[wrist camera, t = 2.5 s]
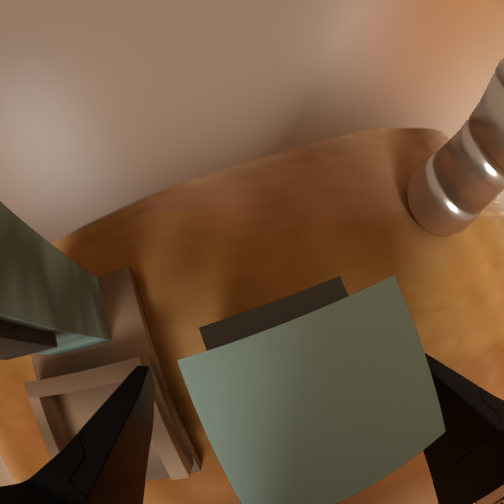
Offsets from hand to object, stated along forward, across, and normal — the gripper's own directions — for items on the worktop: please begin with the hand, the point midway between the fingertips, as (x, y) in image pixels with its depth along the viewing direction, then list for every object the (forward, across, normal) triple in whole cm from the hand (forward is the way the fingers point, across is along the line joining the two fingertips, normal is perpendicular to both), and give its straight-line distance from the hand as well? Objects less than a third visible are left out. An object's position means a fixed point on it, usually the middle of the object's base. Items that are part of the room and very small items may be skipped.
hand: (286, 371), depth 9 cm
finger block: (+5, 0, +6) cm, 8 cm away
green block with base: (+4, +10, +7) cm, 13 cm away
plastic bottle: (+13, -15, -2) cm, 20 cm away
